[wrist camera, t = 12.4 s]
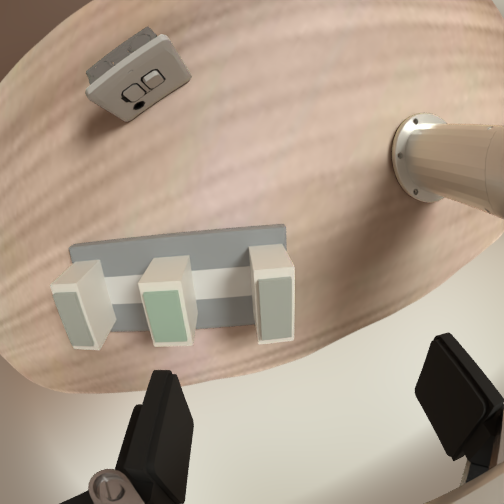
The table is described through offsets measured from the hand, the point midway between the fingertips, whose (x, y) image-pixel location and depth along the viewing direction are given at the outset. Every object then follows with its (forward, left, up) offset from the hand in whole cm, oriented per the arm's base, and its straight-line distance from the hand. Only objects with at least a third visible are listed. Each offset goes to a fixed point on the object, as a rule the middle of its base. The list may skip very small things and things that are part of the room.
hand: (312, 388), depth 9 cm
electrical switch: (+11, -17, -28) cm, 34 cm away
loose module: (+10, +8, -26) cm, 29 cm away
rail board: (+10, +8, -28) cm, 30 cm away
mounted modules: (+10, +8, -26) cm, 29 cm away
